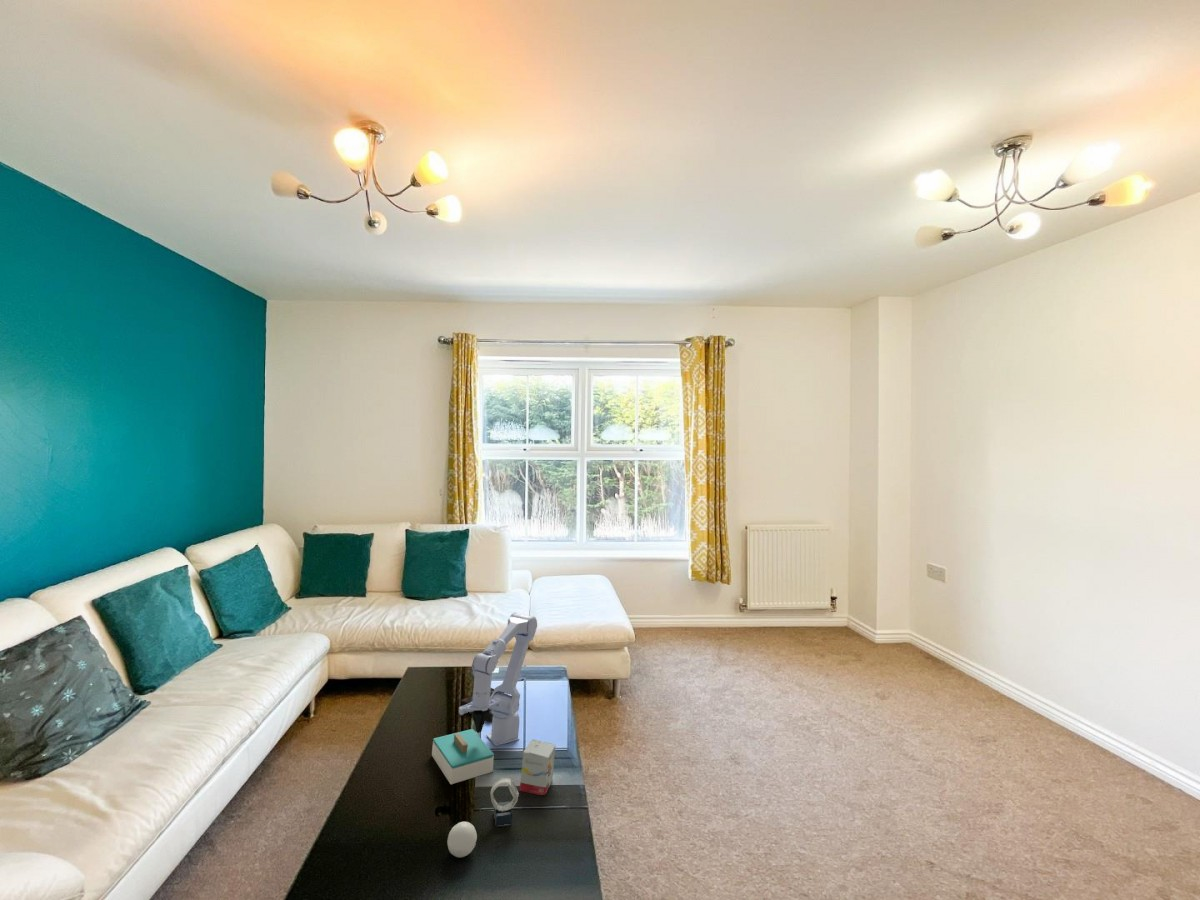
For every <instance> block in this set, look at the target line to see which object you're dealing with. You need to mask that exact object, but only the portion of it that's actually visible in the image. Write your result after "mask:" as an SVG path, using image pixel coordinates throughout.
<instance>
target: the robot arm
mask: <svg viewBox="0 0 1200 900" xmlns="http://www.w3.org/2000/svg"><path fill="white" fill-rule="evenodd" d="M537 628H538V621H537V618H536V616H530V615H526V614H521V613H518V612H513V613H511V615H510V616H509V617H508V619H507V626H506V627H505V629H504V630H503V632H502V633H501V634H500V635H499V637H498V638H494V639H493V640H491V642H490V643H489V645H488V646H486V647H485V649H484V650H483V652H480V653H477V654H476V655H475V656H474V658H473V660H472V664H471V669H472V675H473V677H474V679H473V691H472V695H473V700H472V702H471V703H468V704H466V705H464V706H461V707H460V706H459V707H458V714H459V715H460V716H464V714H467V713H468V712H471V713H472V714H471V715H472V718H473V723H474V729H475V730H474V731H475V732H476V733H477V734H479V733H482V732H483V727H484V725H485V722H487V721H486V719H487V717H488V716H489V714H490V710H492V711H491V713H492V714H493V720H492V722H491V731H490V732H489V733H487V734H486V736H487V738H488V739H489V740H490V741H491V743H492V744H493V745H494V746H501V745H504V744H507V743H512V742H515V741H519V740H520V737H519V734H520V733H519V729H520V715H519V713H518V710H519V707H520V699H521V694H520V692H519V690H518V689H517V684H518V680H519V677H520V674H521V672H522V668H523V666H524V665H523V664H524V661H525V658H526V655H527V651H528V648H529V645H530V642H531V641H533V640H534V637H535V634H536V631H537ZM513 638H515V643H514V647H513V649H512V653H511V656H510V659H509V662H508V665H507V667H506V671H505V675H504V678H503V681H502V683H501V684H499V685H498V686H495V688H493V689H494V692H493V694H492V695H491V697H490V690H491V688H492V678H493V677H492V676H493V673H494V671H495V670H496V667H497V665H498V663H499V659H500V658H501V657H502V656H503V655H504V653H505V652H506V650H507V645H508V644H509V642H511V641H512V640H513ZM502 693H505V694H508V695H510V696H508V695H505V694H502ZM489 709H490V710H489ZM468 714H469V713H468Z"/></svg>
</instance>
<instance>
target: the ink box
mask: <svg viewBox="0 0 1200 900" xmlns="http://www.w3.org/2000/svg"><path fill="white" fill-rule="evenodd" d="M556 747H557V746H556V744H554V743H551V742H545V741H542V740H536V739H531V740H530V742H529V743H528V745H526V747H525V749H524V750H523V753H522V762H521V763H522V764H521V771H520V773H521V774H520V780H519V781H520V782H519V791H520V792H525V793H529V794H534V795H539V796H543V795H545V794H546V795H547V792H548V791H549V789H550V786H551V784H552V781H553V775H554V768H555V767H554V765H555V755H556ZM546 795H545V796H546Z"/></svg>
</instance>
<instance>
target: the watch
mask: <svg viewBox="0 0 1200 900" xmlns="http://www.w3.org/2000/svg"><path fill="white" fill-rule="evenodd" d="M502 785H507V787H508V790H509V792H510V794H511V796H512V800H511V801H503V802H497V801H496V799H495V796H494V792H495V791H496V789H497V788H499V787H500V786H502ZM489 795H490V801H491V803H492V804H491V805H492V806H493V814H494V816H493V820H494V819H495V822H494V826H495V825H496V826H498V825H504V824H511V825H512V823H513V822H512V819H513V812H512V809H513V808H514V806H516V805H517V804H516V803H517V802H518V800H519V799H518V797H519V796H520V794H519V791H518V788H517V786H516V783H515V781H514V780H513V778H509V777H503V778H499V779H498V780H497V781H495V782H494V783H493V785H492V787H491V789H490V793H489ZM493 814H492V815H493Z"/></svg>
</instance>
